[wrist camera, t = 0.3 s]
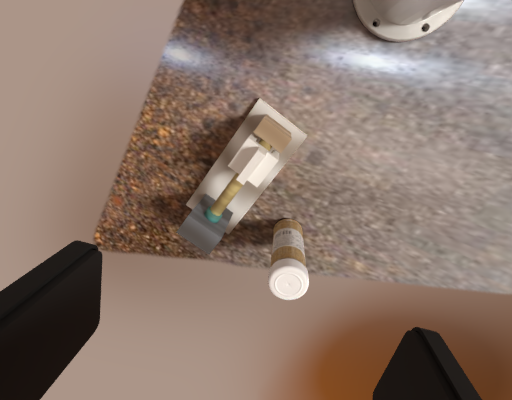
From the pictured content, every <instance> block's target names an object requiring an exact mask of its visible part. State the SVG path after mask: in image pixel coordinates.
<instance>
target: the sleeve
mask: <svg viewBox="0 0 512 400" xmlns="http://www.w3.org/2000/svg"><path fill="white" fill-rule="evenodd" d="M257 138H258V137H257V136H256V135H254V134H253V133H252V134H251V135H250V136H249V137H248V138H247V140H246V141H245V143H244V144H243V145H242V147H241V148H240V150H239V151H238V152H237V154H236V155H235V157H234V158H233V159H232V161H231V162H230V164H229V165H228V166H229V167H230V168H231V169H233V170H234V171H235V172H237V173H238V174H239V175H238V177H237V179H236V180H237V181H239V182H240V183H241V184H243V185H244V184H245V182H246V181H247V180H248V181H249V182H250V183H252V184H253V185H255V186H256V187H258V186H259V185H260V184H261V182H262V181H263V180H264V178H265V177H266V176H267V175H268V173H269V172H270V171H271V170H272V168H273V167H274V166H275V164H276V163H277V162H278V161H279V153H278V152H277V151H275V150H274V149H273V151H272V152H269V151H268V150H267V149H265V148H264V147H263V146H261V145H260V144H259V143H257V142H256V140H257Z"/></svg>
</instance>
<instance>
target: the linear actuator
mask: <svg viewBox="0 0 512 400" xmlns="http://www.w3.org/2000/svg"><path fill="white" fill-rule="evenodd" d="M252 133H253V134H254V135H256V136H257V137H258V138H257V140H256V142H257V143H259V144H260V145H261V146H263V147H264V148H265V149H267V150H268V151H269V152H272V151H273V149H274V150H275V151H277V152H278V153H279V161H278V162H277V163H276V164H275V166H274V167H273V168H272V170H271V171H270V172H269V173H268V175H267V176H266V177H265V178H264V180H263V181H262V182H261V184H260V185H259V186H258V187H256V186H255V185H253V184H252V183H250V182H249V181H248V180H247V181H246V182H245V184H244V185H243V184H241V183H240V182H239V181H237V180H236V179H237V177H238V175H239V174H238V173H237V172H235V171H234V170H233V169H231V168H230V167H229V166H228V165H229V164H230V162H231V161H232V159H233V158H234V157H235V155H236V154H237V152H238V151H239V150H240V148H241V147H242V145H243V144H244V143H245V141H246V140H247V138H248V137H249V136H250V135H251V134H252ZM306 137H307V134H305V133H304V132H303V131H301V130H300V129H299V128H298V127H296V126H295V125H294V124H293V123H291V122H290V121H289V120H287V119H286V118H285V117H284V116H282V115H281V114H280V113H279V112H277V111H276V110H275V109H273V108H272V107H271V106H270V105H268V104H267V103H266V102H264V101H263V100H262V99H261V98H259V100H258V101H257V103H256V104H255V106H254V107H253V109H252V110H251V111H250V113H249V114H248V116H247V117H246V119H245V120H244V122H243V123H242V124H241V126H240V127H239V129H238V130H237V132H236V133H235V135H234V136H233V137H232V139H231V140H230V142H229V143H228V145H227V146H226V148H225V149H224V150H223V152H222V153H221V155H220V156H219V158H218V159H217V161H216V162H215V163H214V165H213V166H212V168H211V169H210V171H209V172H208V174H207V175H206V176H205V178H204V179H203V181H202V182H201V184H200V185H199V187H198V188H197V189H196V191H195V192H194V194H193V195H192V197H191V198H190V200H189V201H188V202H187V204H186V205H187V206H188V207H190V208H191V209H192V211H191V213H190V214H189V215H188V217H187V218H186V219H185V221H184V222H183V224H182V225H181V226H180V228H179V229H178V231H177V232H176V233H178V234H179V235H181V236H182V237H184V238H185V239H187V240H188V241H190V242H191V243H193V244H194V245H196V246H197V247H198V248H200V249H201V250H203V251H204V252H206V253H207V254H210V253H211V251H212V250H213V249H214V248H215V246H216V245H217V244H218V243H219V241H220V240H221V239H222V237H223V235H224V233H225V232H226V233H227V234H228V235H229V233H230V232H231V231H232V230H233V228H234V227H235V226H236V225H237V223H238V222H239V221H240V220H241V218H242V217H243V216H244V215H245V213H246V212H247V211H248V210H249V208H250V207H251V206H252V205H253V203H254V202H255V201H256V200H257V198H258V197H259V196H260V195H261V193H262V192H263V191H264V190H265V188H266V187H267V186H268V185H269V183H270V182H271V181H272V180H273V178H274V177H275V176H276V175H277V173H278V172H279V171H280V170H281V168H282V167H283V166H284V165H285V163H286V162H287V161H288V160H289V158H290V157H291V156H292V155H293V153H294V152H295V151H296V150H297V148H298V147H299V146H300V145H301V143H302V142H303V141H304V140H305V138H306Z"/></svg>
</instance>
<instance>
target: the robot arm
mask: <svg viewBox="0 0 512 400" xmlns="http://www.w3.org/2000/svg"><path fill="white" fill-rule="evenodd" d="M463 1H464V0H353V4H354V7H355V10H356V13H357V15H358V17H359V19H360V20H361V22H362V23H363V25H364V26H365V27H366V28H367V29H368V30H369V31H370V32H371V33H373V34H374V35H376V36H378V37H379V38H382V39H385V40H388V41H394V42H405V41H412V40H415V39H418V38H421V37H424V36H426V35H428V34H430V33H432V32H433V31H435V30H437V29H438V28H440V27H441V26H442V25H443V24H445V23H446V22H447V21H448V20H449V19H450V18H451V17H452V16H453V15H454V14H455V12H456V11H457V10H458V9H459V8H460V6H461V4H462V3H463ZM373 22H375V23H376V26H375V27H374V26H373ZM421 27H424V31H422V30H421ZM101 275H102V253H101V252H100V251H98V247H97V246H96V245H93V244H89V243H86V242H81V241H74V242H72V243H70V244H69V245H67V246H66V247H64V248H63V249H62V250H60V251H59V252H57V253H56V254H54V255H53V256H51V257H50V258H48V259H47V260H46V261H44V262H43V263H41V264H40V265H38V266H37V267H35V268H34V269H32V270H31V271H29V272H28V273H27V274H25V275H24V276H22V277H21V278H19V279H18V280H16V281H15V282H13V283H12V284H10V285H9V286H8V287H6V288H5V289H3V290H2V291H0V400H40V399H41V398H42V396H43V395H44V394H45V393H46V391H47V390H48V389H49V387H50V386H51V385H52V384H53V383H54V382H55V380H56V379H57V378H58V377H59V375H60V374H61V373H62V372H63V370H64V369H65V368H66V367H67V365H68V364H69V363H70V362H71V360H72V359H73V358H74V357H75V356H76V354H77V353H78V352H79V351H80V349H81V348H82V347H83V346H84V344H85V343H86V342H87V341H88V340H89V338H90V337H91V336H92V335H93V333H94V332H95V330H96V329H97V326H98V324H99V320H100V300H101ZM373 400H482V399H481V398H480V396H479V394H478V393H477V391H476V390H475V389H474V387H473V385H472V384H471V382H470V381H469V379H468V378H467V376H466V374H465V373H464V371H463V370H462V368H461V367H460V365H459V364H458V362H457V360H456V359H455V357H454V356H453V354H452V353H451V351H450V350H449V348H448V346H447V345H446V343H445V342H444V340H443V339H442V337H441V336H440V335H439V334H438V333H437V332H434V331H431V330H427V329H423V328H419V327H415V328H413V329H412V330H411V331H407V332H406V333H405V335H404V337H403V338H402V340H401V342H400V344H399V346H398V347H397V349H396V351H395V353H394V355H393V357H392V358H391V360H390V362H389V364H388V366H387V368H386V370H385V371H384V373H383V375H382V377H381V379H380V380H379V382H378V384H377V386H376V388H375V390H374V392H373Z"/></svg>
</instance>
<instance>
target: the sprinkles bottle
mask: <svg viewBox="0 0 512 400" xmlns="http://www.w3.org/2000/svg"><path fill="white" fill-rule="evenodd" d="M273 235H274V236H273V243H272V256H271V268H270V270H269V276H268V284H269V288H270V290H271V291H272V293H273V294H274V295H276V296H277V297H279V298H281V299H285V300H293V299H297V298H299V297H301V296H302V295H304V294H305V292H306V291H307V289H308V286H309V280H308V272H307V269H306V266H305V254H304V244H303V238H302V227H301V226H300V224H299V223H298V222H297V221H295V220H292V219H283V220H281V221H279V222H278V223H277V224H276V225H275V227H274V229H273Z"/></svg>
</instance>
